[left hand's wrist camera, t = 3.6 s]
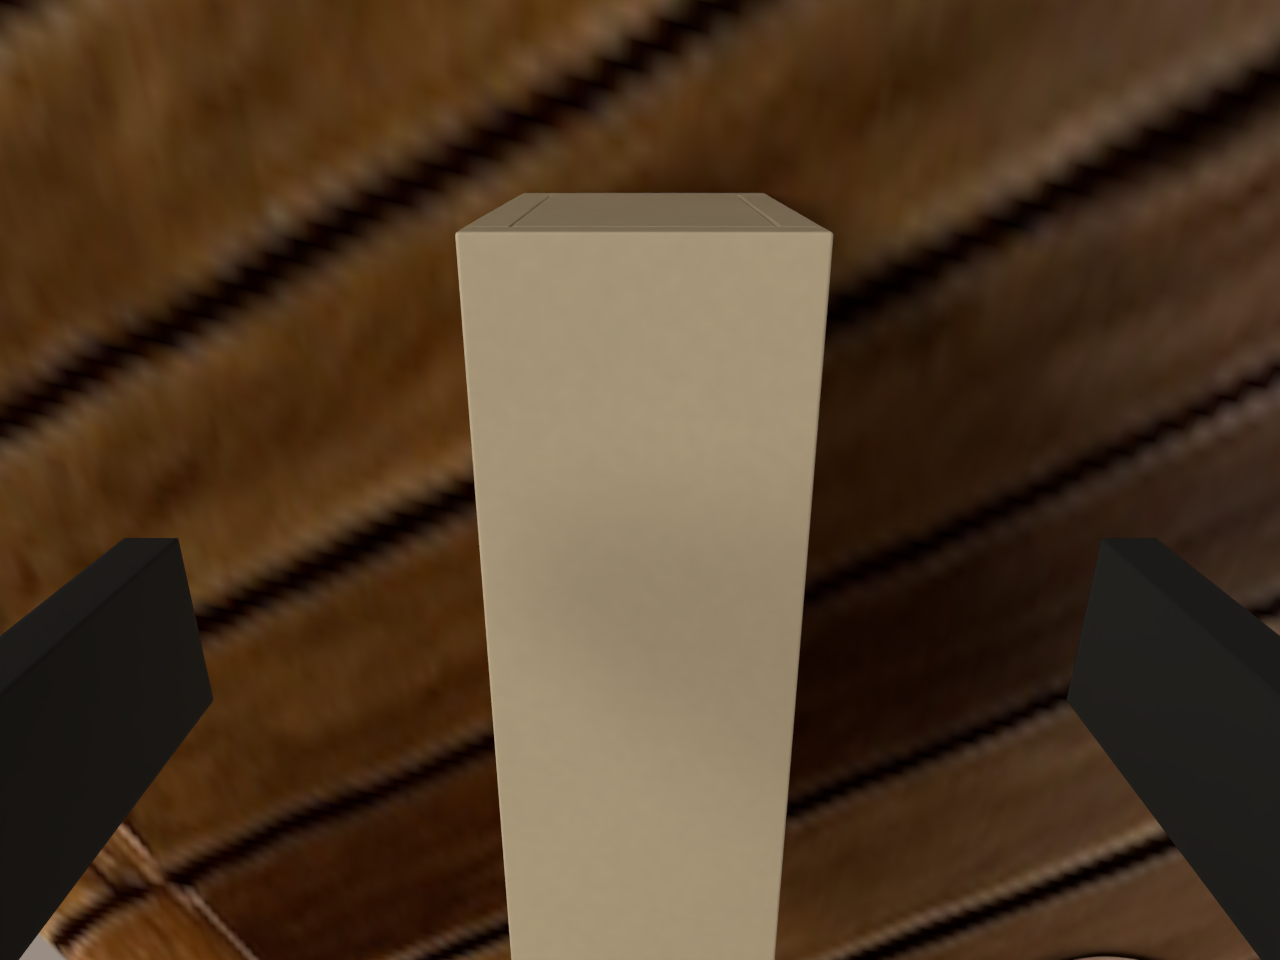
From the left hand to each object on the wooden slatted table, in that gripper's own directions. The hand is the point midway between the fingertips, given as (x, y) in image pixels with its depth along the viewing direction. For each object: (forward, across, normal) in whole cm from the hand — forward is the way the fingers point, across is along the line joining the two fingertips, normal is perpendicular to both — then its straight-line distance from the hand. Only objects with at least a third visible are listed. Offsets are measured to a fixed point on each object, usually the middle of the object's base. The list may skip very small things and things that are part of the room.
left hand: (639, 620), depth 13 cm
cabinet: (+14, 0, -6) cm, 15 cm away
